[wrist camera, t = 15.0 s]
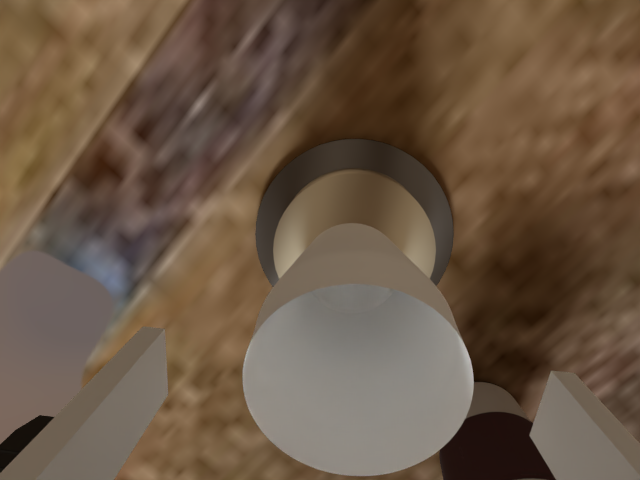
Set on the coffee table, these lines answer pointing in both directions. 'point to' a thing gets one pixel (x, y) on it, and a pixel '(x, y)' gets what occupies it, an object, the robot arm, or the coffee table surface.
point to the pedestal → (354, 204)
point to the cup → (357, 359)
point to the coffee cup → (493, 441)
